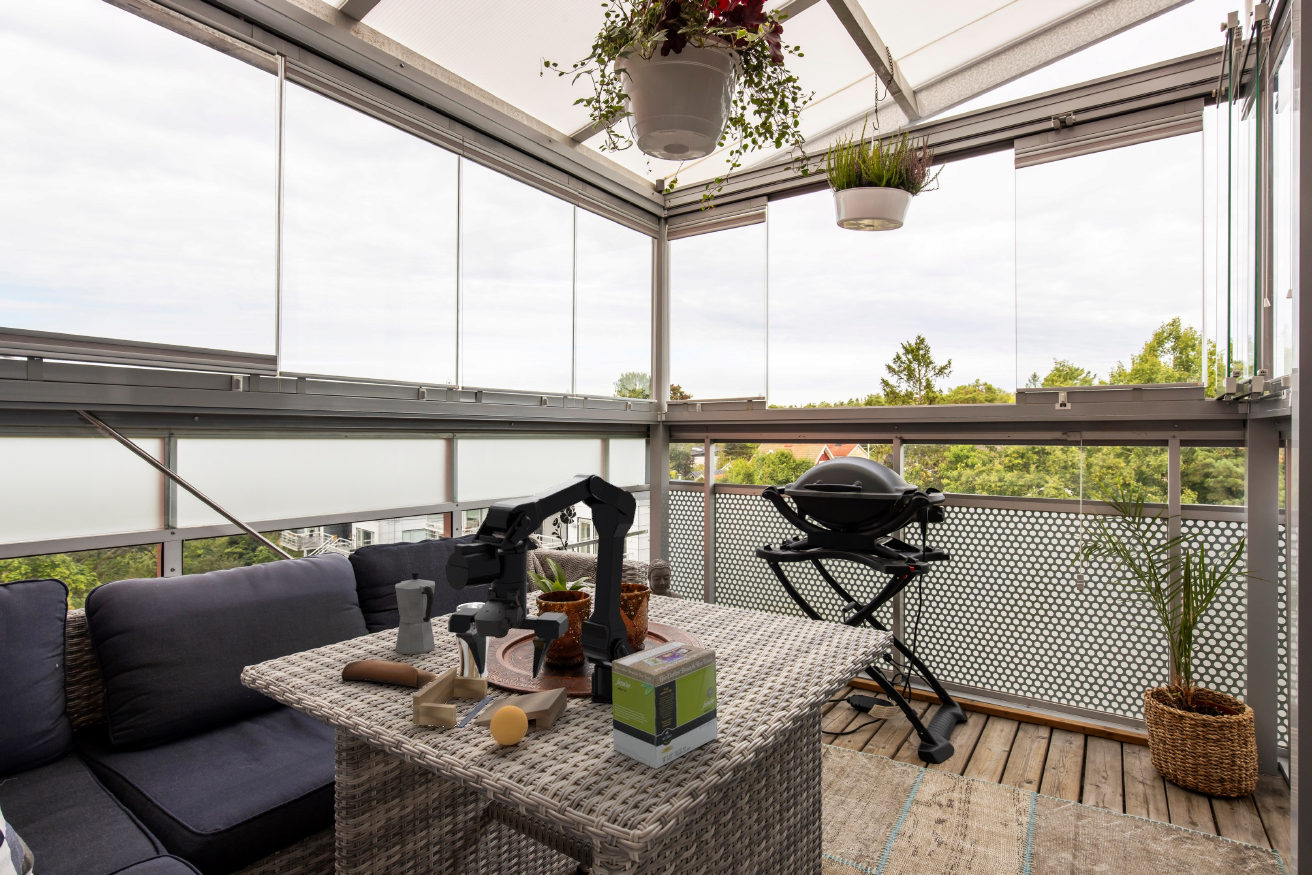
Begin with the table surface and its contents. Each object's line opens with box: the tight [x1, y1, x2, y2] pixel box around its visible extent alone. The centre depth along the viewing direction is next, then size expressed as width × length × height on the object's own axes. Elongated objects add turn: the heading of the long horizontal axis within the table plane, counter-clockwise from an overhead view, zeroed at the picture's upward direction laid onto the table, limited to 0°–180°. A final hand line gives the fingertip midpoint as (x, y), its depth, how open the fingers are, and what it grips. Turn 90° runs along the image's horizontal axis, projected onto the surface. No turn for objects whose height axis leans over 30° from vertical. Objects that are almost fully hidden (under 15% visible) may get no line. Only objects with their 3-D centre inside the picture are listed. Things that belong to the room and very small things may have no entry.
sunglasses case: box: [340, 659, 439, 690], centre depth 142 cm, size 18×7×7 cm
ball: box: [489, 705, 529, 746], centre depth 113 cm, size 6×6×6 cm
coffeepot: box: [394, 570, 436, 655], centre depth 160 cm, size 15×9×18 cm, turn 43°
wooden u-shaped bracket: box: [412, 667, 494, 728], centre depth 126 cm, size 9×14×5 cm, turn 170°
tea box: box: [612, 639, 718, 770], centre depth 112 cm, size 15×10×15 cm, turn 136°
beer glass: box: [455, 602, 491, 678], centre depth 141 cm, size 7×7×15 cm
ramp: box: [473, 686, 568, 731], centre depth 124 cm, size 14×10×5 cm
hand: (508, 675), depth 113 cm, fingers open, 9 cm apart
